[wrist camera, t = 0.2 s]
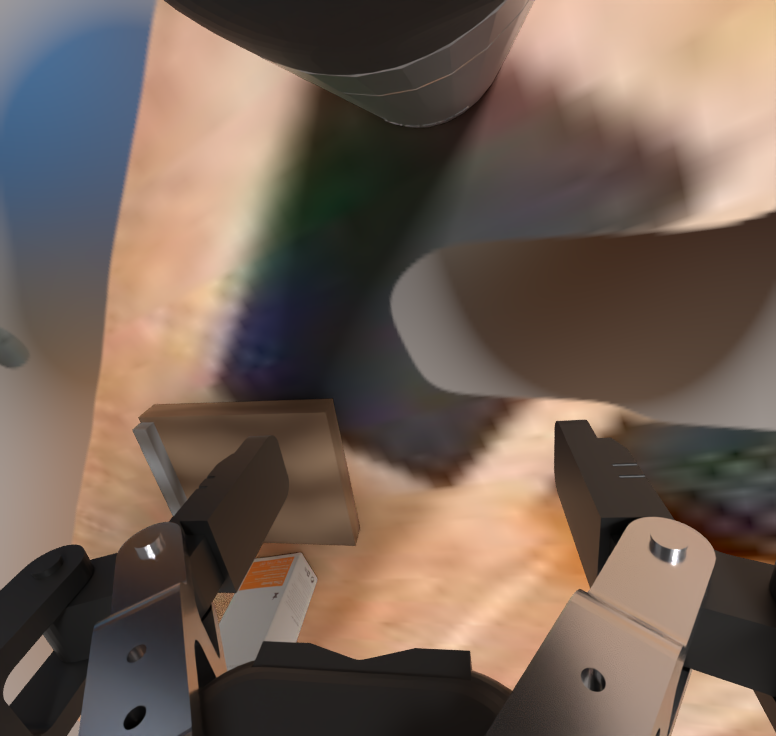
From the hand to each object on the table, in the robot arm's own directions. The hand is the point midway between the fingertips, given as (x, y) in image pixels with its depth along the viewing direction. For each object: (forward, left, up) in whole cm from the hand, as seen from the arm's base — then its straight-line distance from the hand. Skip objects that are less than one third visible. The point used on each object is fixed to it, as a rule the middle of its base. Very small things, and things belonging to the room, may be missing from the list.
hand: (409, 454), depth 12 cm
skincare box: (+28, -18, -18) cm, 38 cm away
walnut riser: (+15, -17, -18) cm, 29 cm away
